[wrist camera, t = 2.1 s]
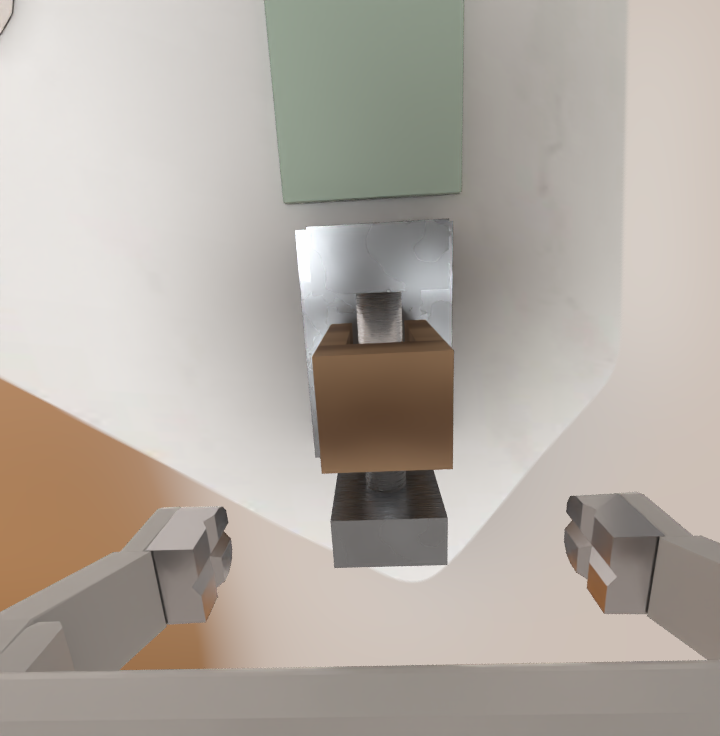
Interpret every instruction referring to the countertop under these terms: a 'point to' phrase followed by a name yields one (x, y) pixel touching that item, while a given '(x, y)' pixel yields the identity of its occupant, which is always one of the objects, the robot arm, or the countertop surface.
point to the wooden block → (384, 401)
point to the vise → (379, 325)
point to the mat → (367, 97)
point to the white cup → (5, 12)
